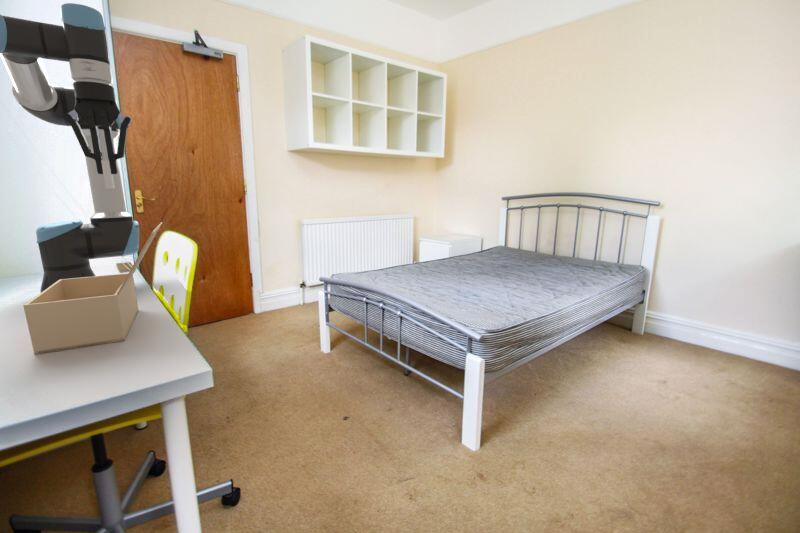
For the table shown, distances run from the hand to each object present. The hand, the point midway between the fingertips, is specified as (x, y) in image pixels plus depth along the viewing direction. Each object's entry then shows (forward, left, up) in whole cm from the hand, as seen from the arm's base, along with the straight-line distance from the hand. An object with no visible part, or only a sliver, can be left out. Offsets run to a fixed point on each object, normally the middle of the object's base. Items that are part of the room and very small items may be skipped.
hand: (110, 188), depth 95 cm
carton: (+2, -8, -34) cm, 35 cm away
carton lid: (+2, +5, -16) cm, 17 cm away
